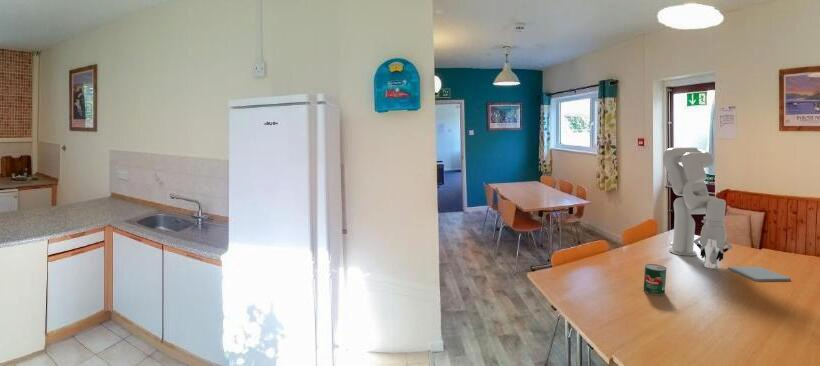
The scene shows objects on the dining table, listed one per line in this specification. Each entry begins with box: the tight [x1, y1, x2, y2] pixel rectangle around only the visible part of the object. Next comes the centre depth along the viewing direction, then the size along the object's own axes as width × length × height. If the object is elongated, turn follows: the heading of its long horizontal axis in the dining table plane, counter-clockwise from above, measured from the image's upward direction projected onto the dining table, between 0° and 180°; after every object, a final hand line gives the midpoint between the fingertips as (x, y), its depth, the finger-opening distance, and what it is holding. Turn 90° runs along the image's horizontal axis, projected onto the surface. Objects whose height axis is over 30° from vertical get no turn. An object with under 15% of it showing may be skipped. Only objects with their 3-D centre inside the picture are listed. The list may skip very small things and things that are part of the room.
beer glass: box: [702, 239, 720, 270], centre depth 201 cm, size 7×7×15 cm
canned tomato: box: [643, 263, 667, 296], centre depth 172 cm, size 8×8×11 cm
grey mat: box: [727, 266, 792, 282], centre depth 191 cm, size 16×16×1 cm
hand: (711, 258), depth 201 cm, fingers closed on beer glass, 6 cm apart
